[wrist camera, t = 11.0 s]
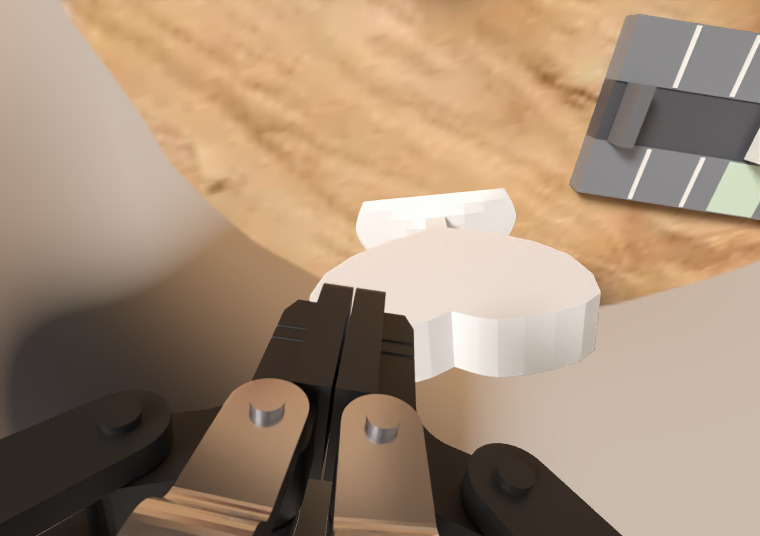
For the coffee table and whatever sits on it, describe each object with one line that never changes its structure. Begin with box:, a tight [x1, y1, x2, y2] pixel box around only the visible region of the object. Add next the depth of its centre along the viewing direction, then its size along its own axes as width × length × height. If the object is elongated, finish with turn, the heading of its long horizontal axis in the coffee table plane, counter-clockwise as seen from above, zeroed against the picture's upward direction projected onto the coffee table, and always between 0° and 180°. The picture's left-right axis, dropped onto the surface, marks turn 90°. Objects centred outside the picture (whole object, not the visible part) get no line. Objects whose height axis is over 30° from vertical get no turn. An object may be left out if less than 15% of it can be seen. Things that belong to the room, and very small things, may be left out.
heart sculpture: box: [310, 188, 601, 382], centre depth 30 cm, size 16×5×18 cm, turn 97°
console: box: [569, 14, 760, 220], centre depth 32 cm, size 12×16×4 cm
